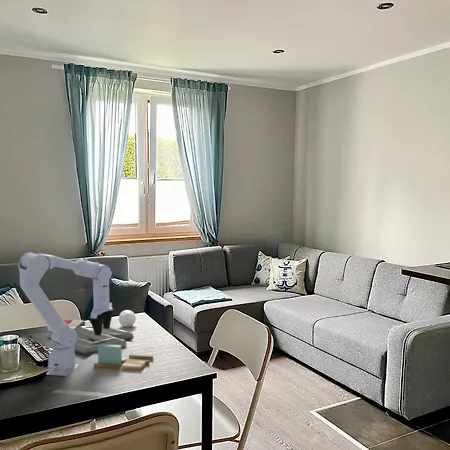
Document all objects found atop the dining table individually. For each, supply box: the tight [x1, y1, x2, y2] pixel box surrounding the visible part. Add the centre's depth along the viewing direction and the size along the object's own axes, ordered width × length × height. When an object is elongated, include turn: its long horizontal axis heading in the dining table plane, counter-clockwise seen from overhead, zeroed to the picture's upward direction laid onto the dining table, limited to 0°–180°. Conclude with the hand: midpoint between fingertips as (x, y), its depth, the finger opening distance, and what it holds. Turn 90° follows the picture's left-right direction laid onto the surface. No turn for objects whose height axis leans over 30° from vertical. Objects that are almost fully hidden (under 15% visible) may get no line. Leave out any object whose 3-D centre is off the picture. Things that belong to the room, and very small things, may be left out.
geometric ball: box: [118, 309, 137, 328], centre depth 215 cm, size 8×8×8 cm
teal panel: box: [97, 344, 123, 366], centre depth 167 cm, size 2×8×8 cm, turn 81°
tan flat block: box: [122, 364, 146, 371], centre depth 165 cm, size 5×7×1 cm
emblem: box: [73, 324, 134, 356], centre depth 192 cm, size 28×5×28 cm
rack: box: [92, 354, 155, 374], centre depth 169 cm, size 12×19×2 cm, turn 81°
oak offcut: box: [122, 360, 146, 369], centre depth 165 cm, size 5×7×1 cm
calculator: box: [62, 319, 86, 329], centre depth 208 cm, size 11×4×15 cm
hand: (102, 331), depth 176 cm, fingers open, 7 cm apart
